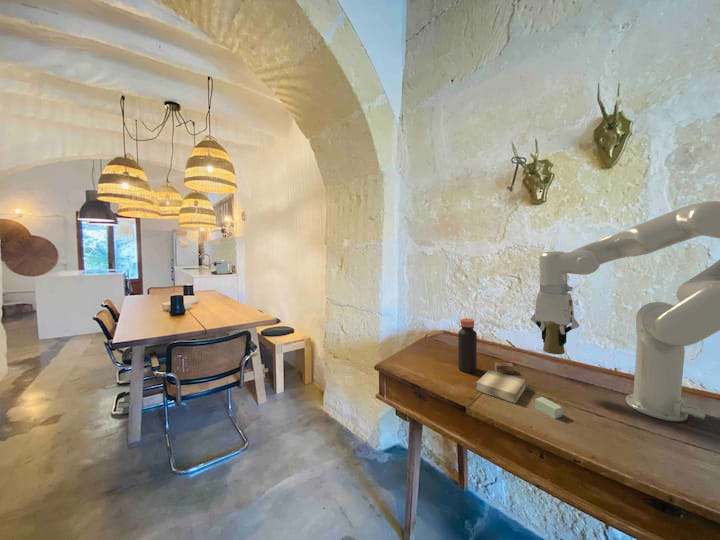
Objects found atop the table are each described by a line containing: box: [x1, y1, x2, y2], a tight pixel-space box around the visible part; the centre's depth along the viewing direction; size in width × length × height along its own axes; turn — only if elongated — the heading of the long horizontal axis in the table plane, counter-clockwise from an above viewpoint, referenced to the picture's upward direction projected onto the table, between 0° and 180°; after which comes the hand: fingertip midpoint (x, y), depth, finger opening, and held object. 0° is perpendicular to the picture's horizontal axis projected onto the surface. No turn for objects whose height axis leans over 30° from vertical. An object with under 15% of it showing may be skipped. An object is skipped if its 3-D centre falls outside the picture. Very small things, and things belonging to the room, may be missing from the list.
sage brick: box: [534, 396, 563, 420], centre depth 84 cm, size 6×3×3 cm, turn 22°
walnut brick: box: [494, 361, 515, 375], centre depth 110 cm, size 6×3×3 cm, turn 77°
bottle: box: [457, 318, 478, 374], centre depth 112 cm, size 7×7×20 cm
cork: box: [542, 321, 566, 355], centre depth 95 cm, size 6×6×11 cm
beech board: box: [476, 369, 526, 404], centre depth 97 cm, size 12×12×3 cm
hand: (553, 342), depth 95 cm, fingers closed on cork, 4 cm apart
